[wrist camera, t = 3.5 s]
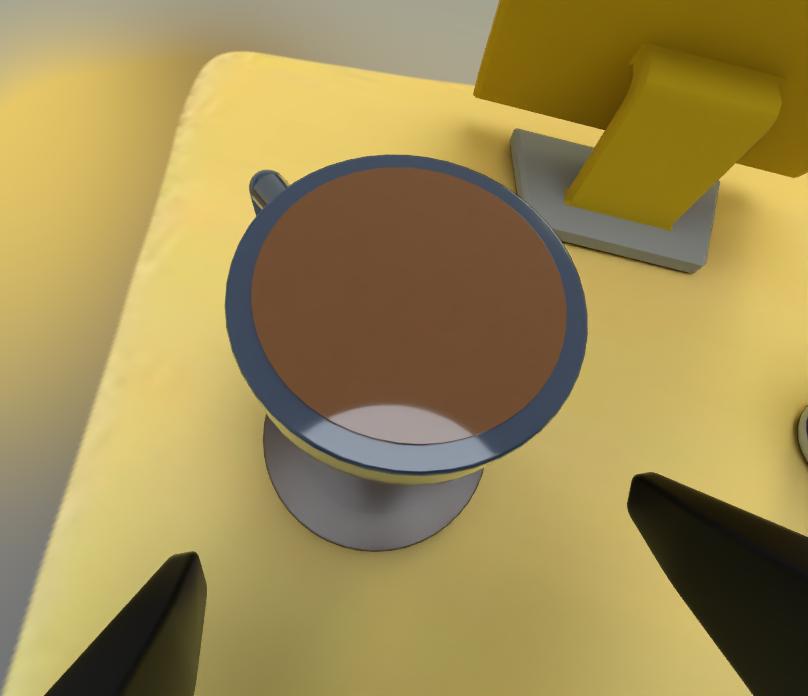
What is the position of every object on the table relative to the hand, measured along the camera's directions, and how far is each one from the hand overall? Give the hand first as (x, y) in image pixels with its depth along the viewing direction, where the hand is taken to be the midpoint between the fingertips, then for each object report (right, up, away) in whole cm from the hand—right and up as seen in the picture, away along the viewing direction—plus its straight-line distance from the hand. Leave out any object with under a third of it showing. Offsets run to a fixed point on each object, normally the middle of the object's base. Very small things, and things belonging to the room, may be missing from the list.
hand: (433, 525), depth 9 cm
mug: (-3, +1, +11) cm, 12 cm away
